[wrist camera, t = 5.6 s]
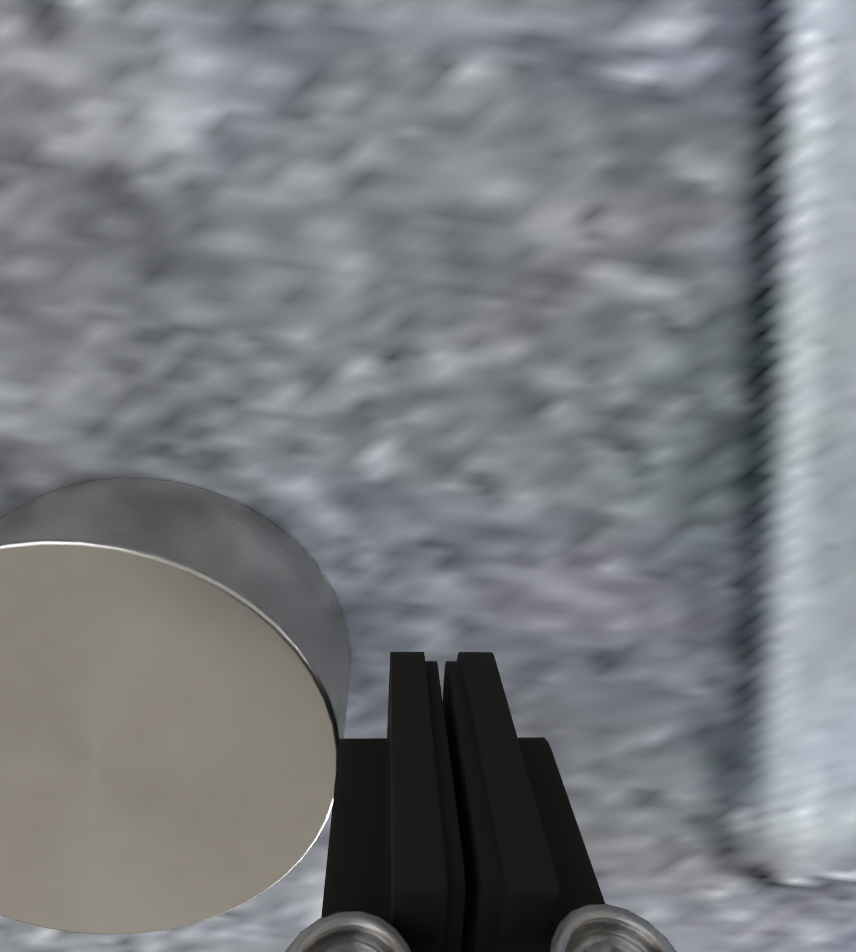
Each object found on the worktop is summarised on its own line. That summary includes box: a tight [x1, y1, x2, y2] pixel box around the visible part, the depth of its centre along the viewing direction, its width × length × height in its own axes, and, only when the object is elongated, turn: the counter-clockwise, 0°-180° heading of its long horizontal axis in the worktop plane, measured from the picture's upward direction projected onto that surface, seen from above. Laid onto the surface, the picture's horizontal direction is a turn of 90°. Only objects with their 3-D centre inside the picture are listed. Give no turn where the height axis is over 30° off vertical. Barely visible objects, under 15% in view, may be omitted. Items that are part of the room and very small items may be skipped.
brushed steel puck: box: [0, 478, 350, 934], centre depth 10 cm, size 7×7×2 cm
